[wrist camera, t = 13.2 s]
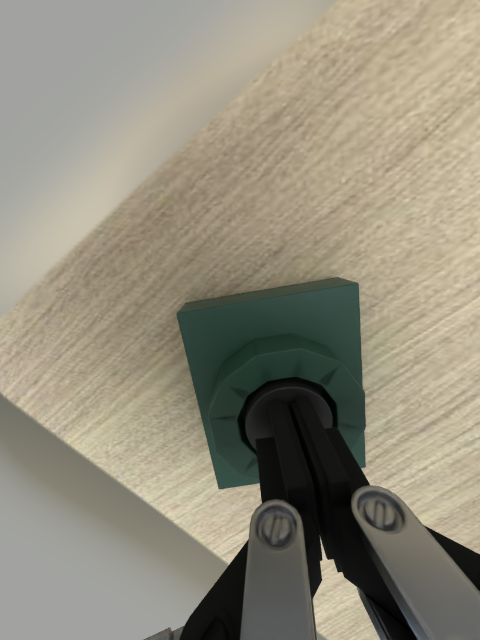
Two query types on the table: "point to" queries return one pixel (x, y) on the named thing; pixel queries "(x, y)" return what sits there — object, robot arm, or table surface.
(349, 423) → the box
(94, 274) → the table surface
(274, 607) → the robot arm
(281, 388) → the button
